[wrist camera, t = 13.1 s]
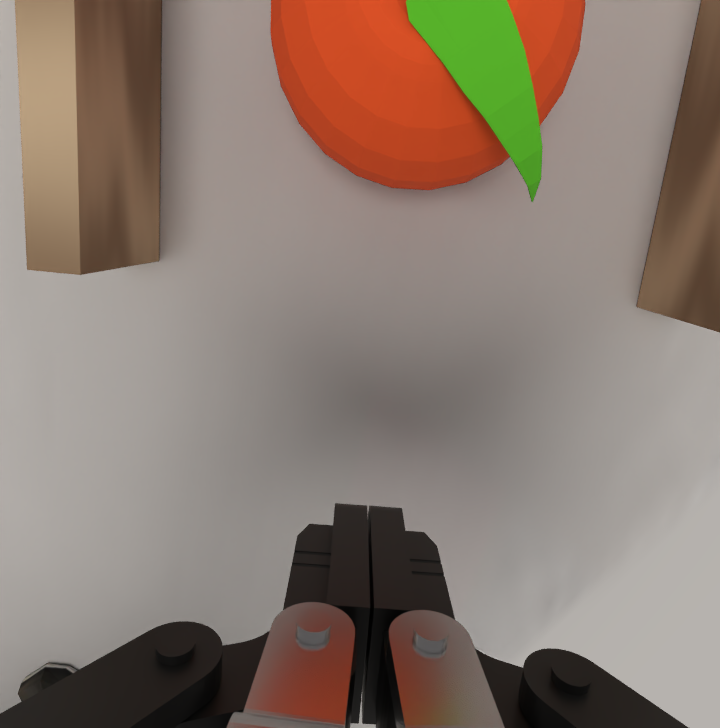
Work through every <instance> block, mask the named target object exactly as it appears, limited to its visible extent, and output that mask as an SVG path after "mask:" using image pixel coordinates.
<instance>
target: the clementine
mask: <svg viewBox="0 0 720 728" xmlns="http://www.w3.org/2000/svg"><path fill="white" fill-rule="evenodd" d="M584 11H585V0H271V40H272V47H273V52H274V56H275V61H276V65H277V70H278V75H279V79H280V84H281V87H282V89H283V91H284V93H285V95H286V97H287V99H288V101H289V104H290V106H291V108H292V110H293V112H294V114H295V116H296V118H297V120H298V122H299V124H300V125H301V126H302V127H303V128H304V130H305V131H306V132H307V133H308V134H309V135H310V137H311V138H312V139H313V140H314V141H315V142H316V144H317V145H318V146H319V147H320V148H321V150H322V151H323V152H324V153H325V154H326V155H328V156H329V157H331V158H332V159H333V160H335V161H336V162H338V163H339V164H341V165H342V166H344V167H345V168H346V169H348V170H349V171H351V172H352V173H354V174H355V175H357V176H359V177H362V178H365V179H368V180H371V181H374V182H377V183H380V184H382V185H385V186H388V187H391V188H403V189H419V190H432V189H437V188H441V187H446V186H451V185H456V184H460V183H465V182H468V181H470V180H471V179H473V178H475V177H477V176H479V175H481V174H483V173H485V172H487V171H489V170H491V169H493V168H495V167H497V166H499V165H501V164H502V163H503V162H504V161H505V160H506V159H507V158H509V157H511V159H512V160H513V162H514V163H515V165H516V167H517V168H518V170H519V172H520V174H521V175H522V177H523V179H524V181H525V182H526V184H527V186H528V190H529V194H530V197H531V201H532V202H533V200H534V197H535V194H536V191H537V188H538V186H539V183H540V180H541V165H542V141H541V133H540V125H541V123H542V122H543V121H544V119H545V118H546V116H547V115H548V113H549V112H550V110H551V109H552V107H553V106H554V105H555V103H556V102H557V100H558V99H559V97H560V96H561V94H562V93H563V91H564V88H565V86H566V83H567V80H568V78H569V75H570V73H571V70H572V67H573V65H574V62H575V60H576V57H577V55H578V52H579V47H580V40H581V33H582V26H583V18H584Z"/></svg>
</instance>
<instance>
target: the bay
mask: <svg viewBox="0 0 720 728" xmlns="http://www.w3.org/2000/svg"><path fill="white" fill-rule="evenodd" d="M161 11H162V0H15V12H16V34H17V56H18V78H19V100H20V122H21V144H22V166H23V189H24V211H25V233H26V255H27V270H36V271H46V272H57V273H67V274H77V275H82V274H88V273H93V272H99V271H105V270H110V269H116V268H122V267H127V266H133V265H139V264H144V263H150V262H156V261H159V217H160V114H161ZM637 307H639V308H642V309H645V310H649V311H652V312H655V313H658V314H662V315H665V316H668V317H671V318H675V319H678V320H681V321H684V322H688V323H691V324H694V325H697V326H701V327H704V328H707V329H711V330H714V331H717V332H720V0H702V1H701V6H700V11H699V15H698V20H697V25H696V29H695V34H694V39H693V44H692V48H691V53H690V58H689V62H688V67H687V72H686V77H685V81H684V86H683V91H682V95H681V100H680V105H679V110H678V114H677V119H676V124H675V128H674V133H673V138H672V143H671V147H670V152H669V157H668V161H667V166H666V171H665V176H664V180H663V185H662V190H661V195H660V199H659V204H658V209H657V213H656V218H655V223H654V228H653V232H652V237H651V242H650V246H649V251H648V256H647V261H646V265H645V270H644V275H643V279H642V284H641V289H640V294H639V298H638V303H637Z"/></svg>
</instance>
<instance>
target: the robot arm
mask: <svg viewBox="0 0 720 728" xmlns="http://www.w3.org/2000/svg"><path fill="white" fill-rule="evenodd" d="M361 694H362V723H363V724H376V728H688V727H687V726H685V725H684V724H682V723H681V722H679V721H678V720H676V719H675V718H673V717H672V716H671V715H669V714H668V713H666V712H664V711H663V710H662V709H660V708H659V707H657V706H656V705H654V704H653V703H651V702H650V701H649V700H647V699H646V698H644V697H643V696H641V695H640V694H638V693H637V692H635V691H634V690H632V689H631V688H629V687H628V686H626V685H625V684H624V683H622V682H621V681H619V680H618V679H616V678H615V677H613V676H612V675H610V674H609V673H608V672H606V671H605V670H603V669H602V668H600V667H599V666H597V665H596V664H594V663H593V662H591V661H590V660H588V659H586V658H584V657H582V656H580V655H578V654H575V653H572V652H569V651H566V650H561V649H541V650H538V651H535V652H533V653H532V654H531V655H529V656H528V657H527V659H526V660H525V663H524V667H523V668H522V667H518V666H515V665H512V664H509V663H506V662H503V661H499V660H497V659H494V658H491V657H489V656H487V655H485V654H483V653H481V652H480V651H478V650H477V649H475V647H474V645H473V642H472V640H471V637H470V635H469V633H468V632H467V630H466V629H465V628H464V627H463V626H462V625H461V624H460V623H459V622H457V621H456V620H455V618H454V614H453V609H452V605H451V601H450V597H449V593H448V589H447V585H446V581H445V577H444V573H443V569H442V565H441V561H440V556H439V552H438V548H437V546H436V544H435V543H434V542H433V541H432V540H431V539H430V538H429V537H428V536H427V535H426V534H425V532H414V531H405V525H404V519H403V512H402V508H392V507H379V506H369V511H368V519H367V506H365V505H351V504H338V503H335V511H334V523H333V526H332V525H318V524H309V525H308V526H307V527H306V528H305V529H304V530H303V531H302V532H301V533H300V534H299V535H298V536H297V541H296V546H295V553H294V557H293V562H292V567H291V572H290V577H289V582H288V587H287V592H286V598H285V603H284V608H283V611H282V612H280V613H279V614H278V615H277V616H276V618H275V619H274V621H273V623H272V626H271V629H270V631H268V632H267V633H265V634H264V635H262V636H260V637H258V638H255V639H252V640H250V641H246V642H241V643H236V644H230V645H224V646H222V642H221V639H220V637H219V636H218V634H217V633H216V632H215V631H214V630H213V629H211V628H209V627H208V626H205V625H203V624H200V623H195V622H173V623H168V624H164V625H161V626H158V627H156V628H154V629H152V630H150V631H148V632H146V633H144V634H143V635H141V636H139V637H137V638H135V639H134V640H132V641H130V642H128V643H126V644H125V645H123V646H121V647H119V648H117V649H116V650H114V651H112V652H110V653H108V654H107V655H105V656H103V657H101V658H99V659H98V660H96V661H94V662H92V663H91V664H89V665H87V666H85V667H83V668H82V669H80V670H78V671H76V672H74V673H73V674H71V675H69V676H67V677H65V678H64V679H62V680H60V681H58V682H56V683H55V684H53V685H51V686H49V687H47V688H46V689H44V690H42V691H40V692H38V693H37V694H35V695H33V696H31V697H29V698H28V699H26V700H24V701H22V702H21V703H19V704H17V705H15V706H13V707H12V708H10V709H8V710H6V711H4V712H3V713H1V714H0V728H350V724H351V723H359V714H360V704H361Z"/></svg>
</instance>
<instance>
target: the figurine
mask: <svg viewBox="0 0 720 728" xmlns="http://www.w3.org/2000/svg"><path fill="white" fill-rule="evenodd" d="M76 671H77V670H75V669H74V668H72V667H70V666H66V665H58V664H51V663H47V664H46V665H44V666H43V667H41V668H40V669H38V670H36V671H35V672H33V673H32V674H30V675H29V676H27V677H26V678H25V679H24V680H23V682H22V683H21V686H20V689H19V692H18V695H19V697H20V699H21V701H24V700H26V699H28V698H29V697H31V696H33V695H35V694H37V693H38V692H40V691H42V690H44V689H46V688H47V687H49V686H51V685H53V684H55V683H56V682H58V681H60V680H62V679H64V678H65V677H67V676H69V675H71V674H73V673H74V672H76Z"/></svg>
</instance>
